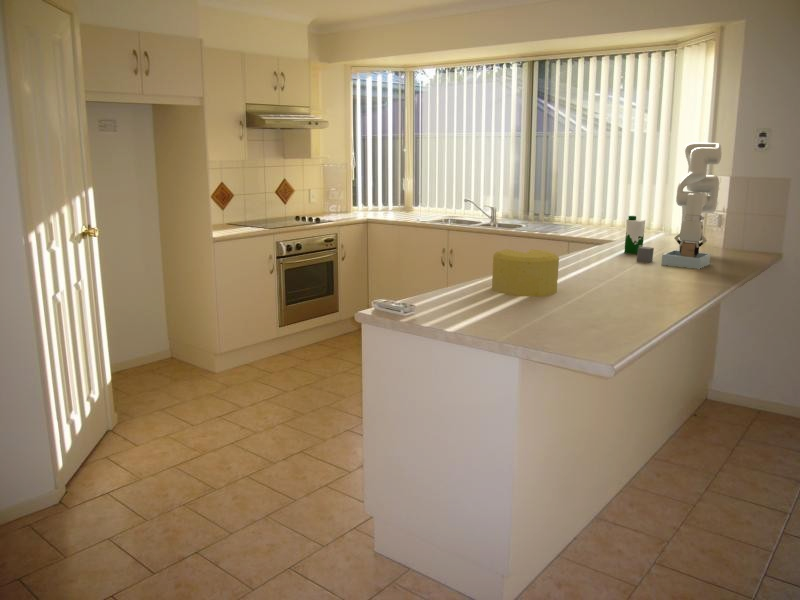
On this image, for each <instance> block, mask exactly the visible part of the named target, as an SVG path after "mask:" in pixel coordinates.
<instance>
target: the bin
mask: <svg viewBox="0 0 800 600" xmlns="http://www.w3.org/2000/svg"><path fill="white" fill-rule="evenodd" d="M680 253H681V252H680V251H677V250H676V249H674V250H671V251H667V252H665V253H662V256H661V266H666V265H668V266H667V267H675V266H679V267H678V268H683V267H687V268H686V269H691V268H697V269H696V270H701V269H703V268H705V267H707V266H710V263H711V253H705V252H704V253H703V252H702V253H701V252H700V253H698V254H697V256H696V257H695V258H694V257H684V256H681V254H680ZM704 266H705V267H704ZM702 267H703V268H702ZM700 268H701V269H700Z"/></svg>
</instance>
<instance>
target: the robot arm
mask: <svg viewBox="0 0 800 600" xmlns="http://www.w3.org/2000/svg"><path fill="white" fill-rule="evenodd" d="M684 149H685V150H684V154H685V158H686V160H687V164H688V168H687V169H688V170H687V175H685V176H684V177H683V178H682V179H681V180H680V182H679V183H678V186H677V189H676V199H675V202H676V205H677V206H679V207H681V223H680V231H679V233H678V234H677V235H676V236H674V240H675V241H676V242H677V244H678V248H675V250H677V251H680V252H681V248H682V243H684V242H691V243H695V244H696V247H695V253H694V255H695V256H696V255H697V254H698V253H701V250H700V247H702V246H703V245H704V244H706V243H707V242H708V240H707V238H706V237H705V236H704V224H703V221H702V220H705V216H703V215H702V214H713V213H714V212H715V213H716V210H717V208H718V207H717V206H718V198H719V197H718V196H719V189H720V180H719V179H720V178H719V176H717V175H714V174H707V171H708V169H707V168H708V165H718V164H720V162H721V161H722V145H721V144H720V143H718V142H691V143H687V144H686V145H685V148H684ZM685 188H686V191H685V190H684V189H685ZM707 194H708V195H707ZM680 254H681V253H680Z"/></svg>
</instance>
